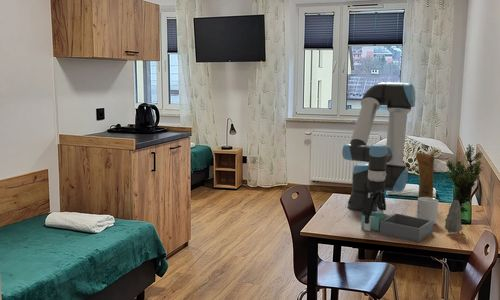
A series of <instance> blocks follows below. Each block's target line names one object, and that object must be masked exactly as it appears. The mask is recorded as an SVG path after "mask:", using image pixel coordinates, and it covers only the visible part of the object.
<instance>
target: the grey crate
mask: <svg viewBox="0 0 500 300" xmlns="http://www.w3.org/2000/svg"><path fill="white" fill-rule="evenodd" d="M433 226H434V224H433V221H432V220H427V219H422V218H417V216H411V215H405V214H399V213H394V214H392V215H390V216H387V217H386V219H384V220H382V221H381V223H380V231H379V234H381V235H385V236H389V237H393V238H398V239H401V240H402V239H403V240H406V241H410V242H411V241H412V242H416V243H420V242H421V241H423V240H424V239H425V238H427V237H428V236H430V235H432V233H433V229H434V228H433Z"/></svg>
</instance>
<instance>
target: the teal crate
mask: <svg viewBox="0 0 500 300" xmlns="http://www.w3.org/2000/svg"><path fill="white" fill-rule="evenodd" d="M370 216H371V229H370V231H375V232H380V223H381V221H382V220H384V219H386V218H387V217H388V215H387V214H386V213H383V214H382V213H377V211H372V212H371V215H370ZM364 219H365V216H364V215H362V214H361V224H360V225H361V226H360V228H361V229H364Z"/></svg>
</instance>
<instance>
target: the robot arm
mask: <svg viewBox="0 0 500 300" xmlns="http://www.w3.org/2000/svg"><path fill="white" fill-rule="evenodd" d="M360 106H361V107H360V110H359V114H358V118H357V119H356V122H355V126H354V130H353V133H352V136H351V138H350V143H345V144H344V145H343V146H342V150H341V154H342V158H343V160H347V161H354V162H360V163H356V164H355V165H353V168H352V170H353V171H352V179H351V180H352V181H351V182H352V183H351V184H352V186H351V189H352V190H351V194H350V196H349V199H348V201H347V207H348V208H349V209H351V210H354V211H360V212H362V214H361V216H362V215H364V216H365V219H364V228H363V230H364V231H367V232H371V230H370V229H371V216H370V215H371V212H377V213H382V214H384V211H386V210H387V203H386V195H385V191H387V192H392V193H395V192H396V193H401V192H403V191H404V190H405V188H406V185H407V181H408V178H409V170H408V169H407V168H406V164H405V163H404V162H403V161H404V150H405V141H406V140H405V139H406V134H407V133H406V132H407V121H408V115H409V113H411V111H412V108H414V107H416V92H415V86H414V85H413V84H412V83H410V82H378V83H375V84H373V85H372V86H371V87H370V88H368V89H367V90H366V92H365V93H364V94H363V96H362V98H361V100H360ZM381 106H385V107H386V110H387V111H388V113H389V115H388V123H387V124H388V125H387V135H386V144H381V143H380V144H379V143H375V144H374V143H373V144H371V145H367V144H368V142H369V141H368V140H369V138H370V135H371V134H370V133H371V130H372V128H373V124H374V120H375V117H376V115H377V111H379V109H380V108H381Z"/></svg>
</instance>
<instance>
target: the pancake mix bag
mask: <svg viewBox="0 0 500 300" xmlns="http://www.w3.org/2000/svg"><path fill="white" fill-rule="evenodd" d="M415 158H416V162H417V166H418V174H419V183H418V184H419V185H418V196H417V199H418V198H420V197H429V198H434V167H435V166H434V164H435V157H434V156H433V155H431V154H427V153H422V152H419V151H418V152H416V154H415Z"/></svg>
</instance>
